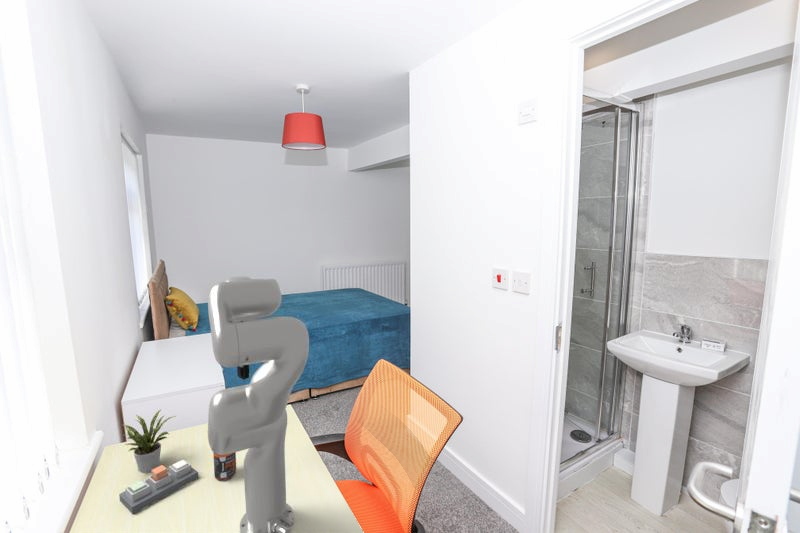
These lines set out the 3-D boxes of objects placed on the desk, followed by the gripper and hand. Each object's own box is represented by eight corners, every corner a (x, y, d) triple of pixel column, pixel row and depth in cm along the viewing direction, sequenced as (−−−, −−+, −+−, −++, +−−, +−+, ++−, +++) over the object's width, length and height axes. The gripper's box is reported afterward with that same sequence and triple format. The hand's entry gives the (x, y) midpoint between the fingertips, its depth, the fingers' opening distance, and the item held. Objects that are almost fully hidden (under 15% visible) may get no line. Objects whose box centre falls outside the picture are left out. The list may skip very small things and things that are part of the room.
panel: (198, 478, 115) (197, 465, 115) (132, 514, 102) (131, 500, 101) (184, 467, 120) (183, 455, 119) (119, 500, 106) (118, 487, 106)
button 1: (146, 493, 106) (145, 484, 106) (134, 499, 104) (133, 490, 104) (141, 488, 108) (140, 480, 108) (130, 494, 106) (129, 486, 105)
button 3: (187, 471, 115) (187, 463, 115) (177, 476, 113) (177, 468, 113) (182, 467, 117) (182, 459, 116) (173, 472, 115) (172, 464, 114)
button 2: (167, 476, 111) (166, 468, 110) (156, 482, 108) (155, 474, 108) (162, 472, 112) (162, 464, 112) (152, 478, 110) (151, 470, 109)
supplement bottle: (228, 483, 113) (226, 446, 112) (210, 480, 115) (207, 444, 113) (240, 469, 119) (239, 434, 117) (223, 466, 120) (221, 432, 119)
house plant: (178, 445, 131) (174, 399, 128) (182, 469, 119) (178, 418, 117) (126, 460, 123) (121, 411, 120) (125, 486, 111) (119, 433, 109)
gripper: (224, 327, 109) (227, 390, 112) (270, 315, 121) (272, 372, 124) (209, 322, 113) (213, 383, 116) (255, 311, 125) (257, 366, 128)
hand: (243, 377), depth 120 cm, fingers closed
